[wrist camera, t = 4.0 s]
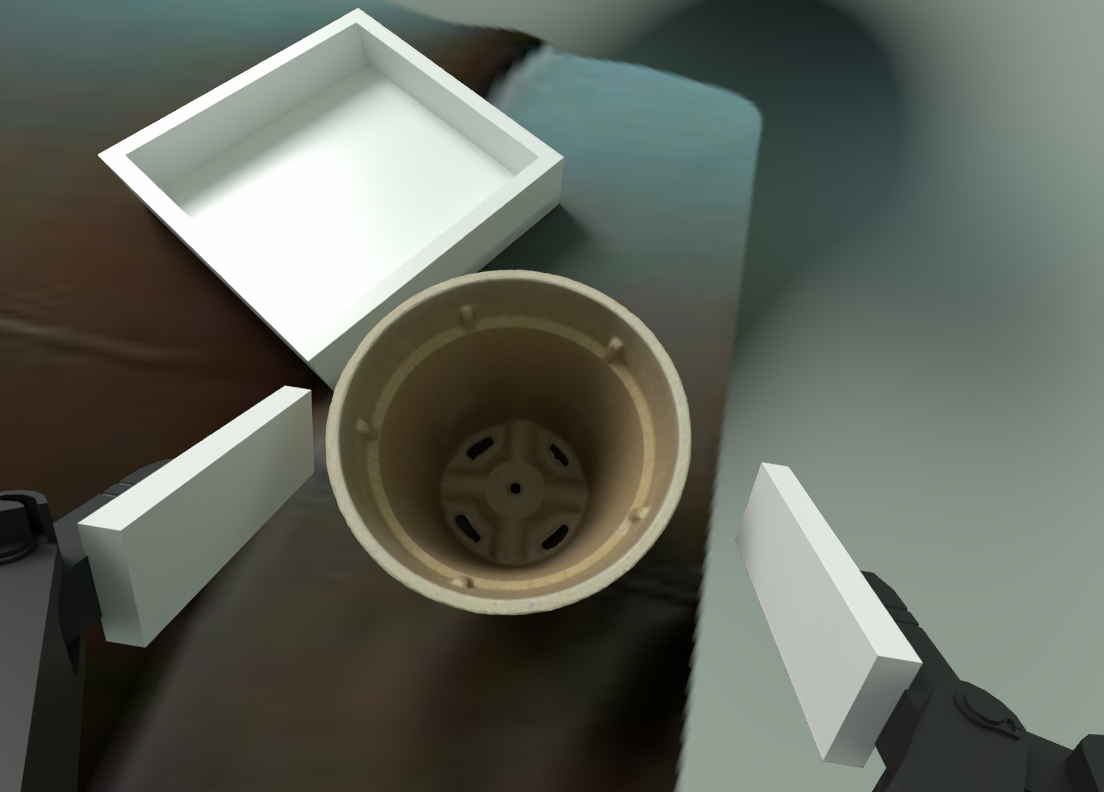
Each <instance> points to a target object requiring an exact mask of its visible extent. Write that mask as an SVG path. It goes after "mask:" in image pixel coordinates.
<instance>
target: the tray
mask: <svg viewBox="0 0 1104 792" xmlns="http://www.w3.org/2000/svg"><path fill="white" fill-rule="evenodd" d="M98 156H99V157H100V158H101V159H102V160H103V161H104V162H105V163H106V164H107V165H108V166H109V168H110V169H111V170H112V171H113V172H114V173H115V174H116V175H117V176H118V177H119V178H120V179H121V180H122V181H123V182H124V184H125V185H126V186H127V187H128V188H129V189H130V190H131V191H132V192H133V193H134V194H135V195H136V196H137V197H138V198H139V200H140V201H141V202H142V203H143V204H144V205H145V206H146V207H147V208H148V209H149V210H150V211H151V212H152V213H153V214H154V215H155V216H156V217H157V218H158V219H159V220H160V221H161V222H162V223H164V224H165V225H166V226H167V227H168V228H169V229H170V230H171V231H172V232H173V233H174V234H175V235H176V236H177V237H178V238H179V239H180V240H181V241H182V242H183V243H184V244H185V245H186V246H187V247H188V248H189V249H190V250H191V251H192V252H193V253H194V254H195V255H196V256H197V257H198V258H199V259H200V260H201V261H202V262H203V263H204V264H205V265H206V266H207V267H208V268H209V269H210V270H211V271H212V272H213V273H214V274H215V275H216V276H217V277H218V278H219V279H220V280H221V281H222V282H223V283H224V284H225V285H226V286H228V287H229V288H230V289H231V290H232V291H233V292H234V293H235V294H236V295H237V296H238V297H239V298H240V299H241V300H242V301H243V302H244V303H245V304H246V305H247V306H248V307H249V308H250V309H251V310H252V311H253V312H254V313H255V314H256V315H257V316H258V317H259V318H260V319H261V320H262V321H263V322H264V323H265V324H266V325H267V326H268V327H269V328H270V329H271V330H272V331H273V332H274V333H275V334H276V335H277V336H278V337H279V338H280V339H281V340H282V341H283V342H284V343H285V344H286V345H287V346H288V347H289V348H290V349H292V350H293V351H294V352H295V353H296V354H297V355H298V356H299V357H300V358H301V359H302V360H303V361H304V362H305V363H306V364H307V365H308V366H309V367H310V368H311V369H312V370H313V371H314V372H315V373H316V374H317V375H318V376H319V377H320V378H321V379H322V380H323V381H324V382H325V383H326V384H327V385H328V386H329V387H330V388H331V389H332V390H333V391H335V387H336V385H337V382H338V381H339V380H340V376H341V374H342V372H343V370H344V368H346V366H347V363H348V361H349V360H350V359H351V358H352V356H353V355H354V353H355V352H356V350H357V348H358V347H359V345H360V344H361V342H362V341H363V339H364V338H365V337H366V336H367V334H368V333H369V332H370V331H371V330H372V329H373V328H374V327H375V326H376V325H377V324H378V323H379V322H380V321H381V320H382V319H383V318H384V317H386V316H387V315H388V314H389V313H391V311H393V310H395V309H396V308H397V307H398V306H399V305H400V304H402V303H404V302H405V301H406V300H408V299H410V298H411V297H413V296H415V295H416V294H418V293H420V292H422V291H424V290H425V289H427V288H429V287H432V286H435V285H437V284H439V283H441V282H445V281H448V280H450V279H452V278H456V277H460V276H464V275H468V274H475V273H477V272H478V271H479V270H481V269H482V268H483V267H484V266H485V265H487V264H488V263H489V262H490V261H491V260H493V259H494V258H495V257H496V256H497V255H499V254H500V253H501V252H502V251H503V250H504V249H506V248H507V247H508V246H509V245H510V244H512V243H513V242H514V241H515V240H516V239H518V238H519V237H520V236H521V235H522V234H524V233H525V232H526V231H527V230H528V229H530V228H531V227H532V226H533V225H534V224H536V223H537V222H538V221H539V220H540V219H542V218H543V217H544V216H545V215H546V214H548V213H549V212H550V211H551V210H552V209H554V208H555V207H556V206H557V205H558V204H560V195H561V184H562V172H563V161H564V157H563V156H561V155H560V154H558V153H557V152H556V151H554V150H553V149H552V148H550V147H549V146H547V145H546V144H545V143H543V142H542V141H541V140H539V139H538V138H536V137H535V136H534V135H532V134H531V133H530V132H528V131H527V130H525V129H524V128H523V127H521V126H520V125H518V124H517V123H516V122H514V121H513V120H512V119H510V118H509V117H507V116H506V115H505V114H503V113H502V112H501V111H499V110H498V109H496V108H495V107H494V106H492V105H491V104H490V103H488V102H487V101H485V100H484V99H483V98H481V97H480V96H479V95H477V94H476V93H474V92H473V91H472V90H470V89H469V88H468V87H466V86H465V85H463V84H462V83H461V82H459V81H458V80H456V79H455V78H454V77H452V76H451V75H450V74H448V73H447V72H445V71H444V70H443V69H441V68H440V67H439V66H437V65H436V64H434V63H433V62H432V61H430V60H429V59H428V58H426V57H425V56H423V55H422V54H421V53H419V52H418V51H417V50H415V49H414V48H412V47H411V46H410V45H408V44H407V43H405V42H404V41H403V40H401V39H400V38H399V37H397V36H396V35H394V34H393V33H392V32H390V31H389V30H388V29H386V28H385V27H383V26H382V25H381V24H379V23H378V22H377V21H375V20H374V19H372V18H371V17H370V16H368V15H367V14H366V13H364V12H363V11H361V10H360V9H359V8H357V9H356V10H354V11H352V12H350V13H349V14H347V15H345V16H343V17H342V18H340V19H338V20H336V21H334V22H333V23H331V24H329V25H327V26H326V27H324V28H322V29H320V30H318V31H317V32H315V33H313V34H311V35H310V36H308V37H306V38H304V39H303V40H301V41H299V42H297V43H295V44H294V45H292V46H290V47H288V48H287V49H285V50H283V51H281V52H279V53H278V54H276V55H274V56H272V57H271V58H269V59H267V60H265V61H263V62H262V63H260V64H258V65H256V66H255V67H253V68H251V69H249V70H248V71H246V72H244V73H242V74H240V75H239V76H237V77H235V78H233V79H232V80H230V81H228V82H226V83H224V84H223V85H221V86H219V87H217V88H216V89H214V90H212V91H210V92H208V93H207V94H205V95H203V96H201V97H200V98H198V99H196V100H194V101H193V102H191V103H189V104H187V105H185V106H184V107H182V108H180V109H178V110H177V111H175V112H173V113H171V114H169V115H168V116H166V117H164V118H162V119H161V120H159V121H157V122H155V123H153V124H152V125H150V126H148V127H146V128H145V129H143V130H141V131H139V132H138V133H136V134H134V135H132V136H130V137H129V138H127V139H125V140H123V141H122V142H120V143H118V144H116V145H114V146H113V147H111V148H109V149H107V150H106V151H104V152H102V153H100V154H98Z"/></svg>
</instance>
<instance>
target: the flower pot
mask: <svg viewBox="0 0 1104 792" xmlns="http://www.w3.org/2000/svg"><path fill="white" fill-rule="evenodd" d="M485 438H491V439H492V441H493V445H492V446H490V447H489V448H487V449H486V450H485V451H484V452H482V453H481V454H479V455H478V456H477V457H476V458H475V459H474V460H473V459H471V458H469V457H468V455H467V452H468V450H469V449H470V447H472V446H473V445H475V444H477V443H478V442H481V441H482V440H483V439H485ZM551 445H555V447H557V448H558V449H559V450H560V451H561V452H562V453H563V454H564V455H565V457H566V458H567V460H568V465H567V466H564V465H563V464H562V463H561V462H560V460H558V459H556V460H555V459H554V458H555V456H554V454H553V452H552V451H551V450H550V447H551ZM326 457H327V470H328V474H329V478H330V482H331V486H332V489H333V492H334V494H335V497H336V499H337V503H338V506H339V509H340V511H341V513H342V514H343V516H344V517H345V519H346V522H347V524H348V526H349V527H350V528H351V530H352V533H353V534H354V535H355V537H356V538H357V540H358V541H359V542H360V544H361V545H362V546H363V547H364V548H365V550H366V551H367V552H368V553H369V555H370V556H371V557H372V558H373V559H374V560H375V561H376V562H377V563H378V564H379V565H380V566H381V567H382V568H383V569H384V570H385V571H386V572H387V573H389V574H390V575H391V576H392V577H394V578H395V579H397V580H398V581H400V582H401V583H402V584H404V585H405V586H407V587H408V588H410V589H411V590H413V591H415V592H417V593H419V594H421V595H423V596H425V597H427V598H430V599H432V600H434V601H436V602H439V603H442V604H445V605H448V606H451V607H454V608H457V609H462V610H466V611H470V612H475V613H481V614H490V615H523V614H530V613H537V612H544V611H551V610H553V609H557V608H561V607H563V606H567V605H570V604H573V603H575V602H577V601H580V600H582V599H584V598H587V597H589V596H591V595H593V594H595V593H597V592H599V591H600V590H602V589H603V588H605V587H607V586H608V585H610V584H611V583H612V582H614V581H615V580H617V579H618V578H619V577H621V576H622V575H623V574H625V573H626V572H627V571H629V570H630V569H631V568H632V567H633V566H634V565H635V564H636V563H637V562H638V561H639V560H640V559H641V558H642V557H643V556H644V555H645V554H646V553H647V551H648V550H649V549H650V548H651V547H652V546H653V545H654V543H655V542H656V540H657V539H658V538H659V536H660V535H661V534H662V532H663V531H664V529H665V528H666V526H667V524H668V523H669V521H670V519H671V517H672V515H673V513H674V511H675V509H676V508H677V505H678V503H679V501H680V498H681V495H682V491H683V489H684V485H685V482H686V478H687V474H688V468H689V465H690V458H691V423H690V415H689V407H688V403H687V397H686V395H685V392H684V389H683V386H682V383H681V380H680V378H679V375H678V372H677V371H676V369H675V367H674V365H673V363H672V360H671V359H670V357H669V355H668V354H667V353H666V351H665V350H664V348H663V346H662V345H661V344H660V343H659V341H658V340H657V339H656V337H655V336H654V334H653V333H652V332H651V331H650V330H649V329H648V328H647V327H646V326H645V325H644V323H642V322H641V320H640V319H639V318H638V317H636V316H635V315H634V314H632V313H630V312H629V311H628V310H627V308H625V307H623V306H621V305H620V304H618V303H617V302H616V301H614V300H613V299H611V298H609V297H608V296H606V295H604V294H603V293H601V292H599V291H597V290H595V289H593V288H591V287H589V286H586V285H584V284H582V283H580V282H575V281H573V280H571V279H568V278H565V277H561V276H557V275H552V274H550V273H548V274H546V273H541V272H535V271H527V270H498V271H487V272H480V273H475V274H468V275H464V276H460V277H456V278H452V279H450V280H448V281H445V282H441V283H439V284H437V285H435V286H432V287H429V288H427V289H425V290H424V291H422V292H420V293H418V294H416V295H415V296H413V297H411V298H410V299H408V300H406V301H405V302H404V303H402V304H400V305H399V306H398V307H397V308H396V309H395V310H393V311H391V313H389V314H388V315H387V316H386V317H384V318H383V319H382V320H381V321H380V322H379V323H378V324H377V325H376V326H375V327H374V328H373V329H372V330H371V331H370V332H369V333H368V334H367V336H366V337H365V338H364V339H363V341H362V342H361V344H360V345H359V347H358V348H357V350H356V352H355V353H354V355H353V356H352V358H351V359H350V360H349V361H348V363H347V366H346V368H344V370H343V372H342V374H341V376H340V380H339V381H338V382H337V385H336V387H335V391H334V394H333V398H332V403H331V405H330V410H329V416H328V419H327V426H326ZM514 483H516V484H519V485H520V492H519V493H518V494H513V493H511V491H510V488H511V485H512V484H514ZM458 515H464V516H465V517H466V518H467V519H468V521H469V523H470V525H471V527H472V528H473V529H474V530H475V531H476V532H477V533H478V534H479V536H480V539H479V541H478V542H475V540H474V539H472V538H470V537H468V536H467V535H466V534H465V533H464V532H463V531H462V530H461V529H460V528H459V526H458V525H457V524H456V521H455V519H456V517H457V516H458ZM563 524H564V525H566V526H567V527H568V532H567V534H566V536H565V538H564V539H563V540H562V541H561V542H560V543H558V544H557V546H555V547H554V548H551V549H543V548H542V542H544V541H545V540H546V539H547V538H549V537H550V536H551V535H552V534H553V533H554V532H555V531H556V530H557V529H558V528H560V526H561V525H563Z"/></svg>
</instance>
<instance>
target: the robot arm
mask: <svg viewBox="0 0 1104 792" xmlns="http://www.w3.org/2000/svg"><path fill="white" fill-rule="evenodd" d="M313 472H314V456H313V430H312V403H311V390H308V389H302V388H295V387H289V386H284V387H283V388H281V389H279V390H278V391H276V392H275V393H273V394H272V395H270V396H269V397H267V398H266V399H264V400H263V401H261V402H260V403H258V404H257V405H255V406H254V407H252V408H251V409H249V410H248V411H246V412H245V413H243V414H242V415H240V416H239V417H237V418H236V419H234V420H233V421H231V422H230V423H228V424H227V425H225V426H224V427H222V428H221V429H219V430H218V431H216V432H215V433H213V434H212V435H210V436H209V437H207V438H206V439H204V440H203V441H201V442H199V443H198V444H196V445H195V446H193V447H192V448H190V449H189V450H187V451H186V452H184V453H183V454H181V455H180V456H178V457H177V458H175V459H174V460H169V459H164V460H162V461H159V462H156V463H154V464H151V465H148V466H146V467H143V468H140V469H139V470H137V471H135V472H134V473H132V474H131V475H129V476H128V477H126V478H124V479H123V480H121V481H120V483H119V484H115V485H113V486H112V487H110V488H109V489H107V490H105V491H104V492H103V494H102V495H100V494H99V495H97V496H96V497H94V498H93V499H91V500H90V501H88V502H86V503H85V504H83V505H82V506H80V507H79V508H77V509H75V510H74V511H72V512H71V513H69V514H67V515H66V516H64V517H63V518H61V519H60V520H58V521H56V522H55V523H53V522H52V518H51V514H50V510H49V507H48V503H47V500H46V497H45V496H44V495H42V494H40V493H38V492H35V491H25V490H15V491H4V492H0V792H77V781H78V766H79V751H80V735H81V720H82V705H83V690H84V675H85V659H86V644H85V640H84V636H83V633H84V632H85V631H86V630H87V629H88V628H90V627H91V626H92V625H93V624H94V623H95V622H96V621H97V620H99V619H100V618H101V621H102V625H103V629H104V633H105V637H106V641H111V642H117V643H122V644H128V645H134V646H140V647H146V646H147V645H148V644H149V643H150V642H151V641H152V640H153V639H154V638H155V637H156V636H157V635H158V634H159V633H160V632H161V630H162V629H163V628H164V627H165V626H166V625H167V624H168V623H169V622H170V621H171V620H172V619H173V618H174V617H175V616H176V615H177V614H178V613H179V612H180V611H181V610H182V609H183V608H184V607H185V606H186V604H187V603H188V602H189V601H190V600H191V599H192V598H193V597H194V596H195V595H196V594H197V593H198V592H199V591H200V590H201V589H202V588H203V587H204V586H205V585H206V584H207V583H208V582H209V581H210V580H211V578H212V577H213V576H214V575H215V574H216V573H217V572H218V571H219V570H220V569H221V568H222V567H223V566H224V565H225V564H226V563H227V562H228V561H229V560H230V559H231V558H232V557H233V556H234V555H235V554H236V553H237V551H238V550H239V549H240V548H241V547H242V546H243V545H244V544H245V543H246V542H247V541H248V540H249V539H250V538H251V537H252V536H253V535H254V534H255V533H256V532H257V531H258V530H259V529H260V528H261V527H262V525H263V524H264V523H265V522H266V521H267V520H268V519H269V518H270V517H271V516H272V515H273V514H274V513H275V512H276V511H277V510H278V509H279V508H280V507H281V506H282V505H283V504H284V503H285V502H286V501H287V499H288V498H289V497H290V496H291V495H292V494H293V493H294V492H295V491H296V490H297V489H298V488H299V487H300V486H301V485H302V484H303V483H304V482H305V481H306V480H307V479H308V478H309V477H310V476H311V475H312V473H313ZM736 543H737V546H738V548H739V551H740V553H741V556H742V558H743V561H744V563H745V566H746V569H747V571H748V574H749V576H750V579H751V581H752V584H753V586H754V588H755V591H756V594H757V596H758V599H759V601H760V604H761V606H762V609H763V611H764V614H765V617H766V619H767V622H768V624H769V626H770V629H771V632H772V634H773V637H774V639H775V642H776V644H777V647H778V649H779V652H780V654H781V657H782V659H783V662H784V664H785V667H786V670H787V672H788V675H789V677H790V680H791V682H792V685H793V687H794V690H795V692H796V695H797V697H798V700H799V702H800V705H801V707H802V710H803V712H804V715H805V717H806V720H807V723H808V725H809V728H810V730H811V733H812V735H813V738H814V740H815V743H816V745H817V748H818V750H819V753H820V755H821V758H822V760H823V761H825V762H832V763H837V764H843V765H849V766H855V767H861V768H863V767H864V765H865V764H866V762H867V760H868V758H869V756H870V755H871V753H872V751H873V749H874V748H875V746H876V748H877V750H878V752H879V754H880V756H881V758H882V760H883V762H884V764H885V766H886V769H885V771H884V773H883V774H882V776H881V778H880V779H879V781H878V783H877V784H876V786H875V788H874V790H873V791H872V792H1104V735H1094V734H1088V735H1087V736H1086V737H1085V738H1083V739H1082V740H1081V741H1080V743H1079V744H1078V745H1077V746H1076V748H1075V749H1074V750H1071V749H1069V748H1066V747H1064V746H1061V745H1059V744H1056V743H1054V742H1051V741H1049V740H1046V739H1044V738H1042V737H1039V736H1037V735H1034V734H1031V733H1029V732H1027V731H1026V729H1025V728H1024V727H1023V725H1022V724H1021V722H1020V721H1019V719H1018V718H1017V716H1016V715H1015V714H1014V713H1013V712H1012V711H1011V710H1009V708H1007V707H1006V706H1005V705H1004V704H1003V703H1002V702H1001V701H1000V700H998V699H997V698H995V697H994V696H992V695H991V694H989V693H988V692H987V691H985V690H983V689H981V688H979V687H977V686H975V685H973V684H971V683H969V682H965V681H961V680H960V679H959V678H958V677H957V675H956V674H955V672H954V671H953V670H952V668H951V667H950V666H949V664H948V663H947V662H946V660H945V659H944V657H943V656H942V655H941V653H940V652H939V651H938V649H937V648H936V647H935V645H934V644H933V642H932V641H931V640H930V639H929V637H928V636H927V634H926V633H925V632H924V630H923V629H922V628H920V627H919V624H918V622H917V621H916V619H915V618H914V617H913V616H912V614H911V613H910V612H908V611H907V607H906V606H905V604H904V603H903V602H902V600H901V599H900V598H899V596H898V595H897V594H896V592H895V591H894V590H893V589H892V588H891V587H890V586H888V585H887V584H886V583H885V582H884V581H882V580H881V579H880V578H879V577H878V576H876V575H875V574H874V573H872V572H865V571H860V570H859V569H858V568H857V566H856V565H855V563H854V562H853V560H852V559H851V558H850V556H849V555H848V553H847V552H846V550H845V549H844V547H843V546H842V544H841V543H840V541H839V540H838V538H837V537H836V536H835V534H834V533H833V531H832V530H831V528H830V527H829V525H828V524H827V522H826V521H825V519H824V518H823V517H822V515H821V514H820V512H819V511H818V509H817V508H816V506H815V505H814V503H813V502H812V500H811V499H810V497H809V496H808V495H807V493H806V492H805V490H804V489H803V487H802V486H801V485H800V483H799V482H798V480H797V478H796V477H795V476H794V474H793V473H792V471H791V470H790V468H789V467H787V466H781V465H775V464H768V463H762V464H761V467H760V469H759V472H758V475H757V478H756V481H755V484H754V487H753V490H752V493H751V496H750V499H749V502H748V505H747V508H746V511H745V514H744V517H743V519H742V523H741V525H740V528H739V531H738V534H737V537H736Z"/></svg>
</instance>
